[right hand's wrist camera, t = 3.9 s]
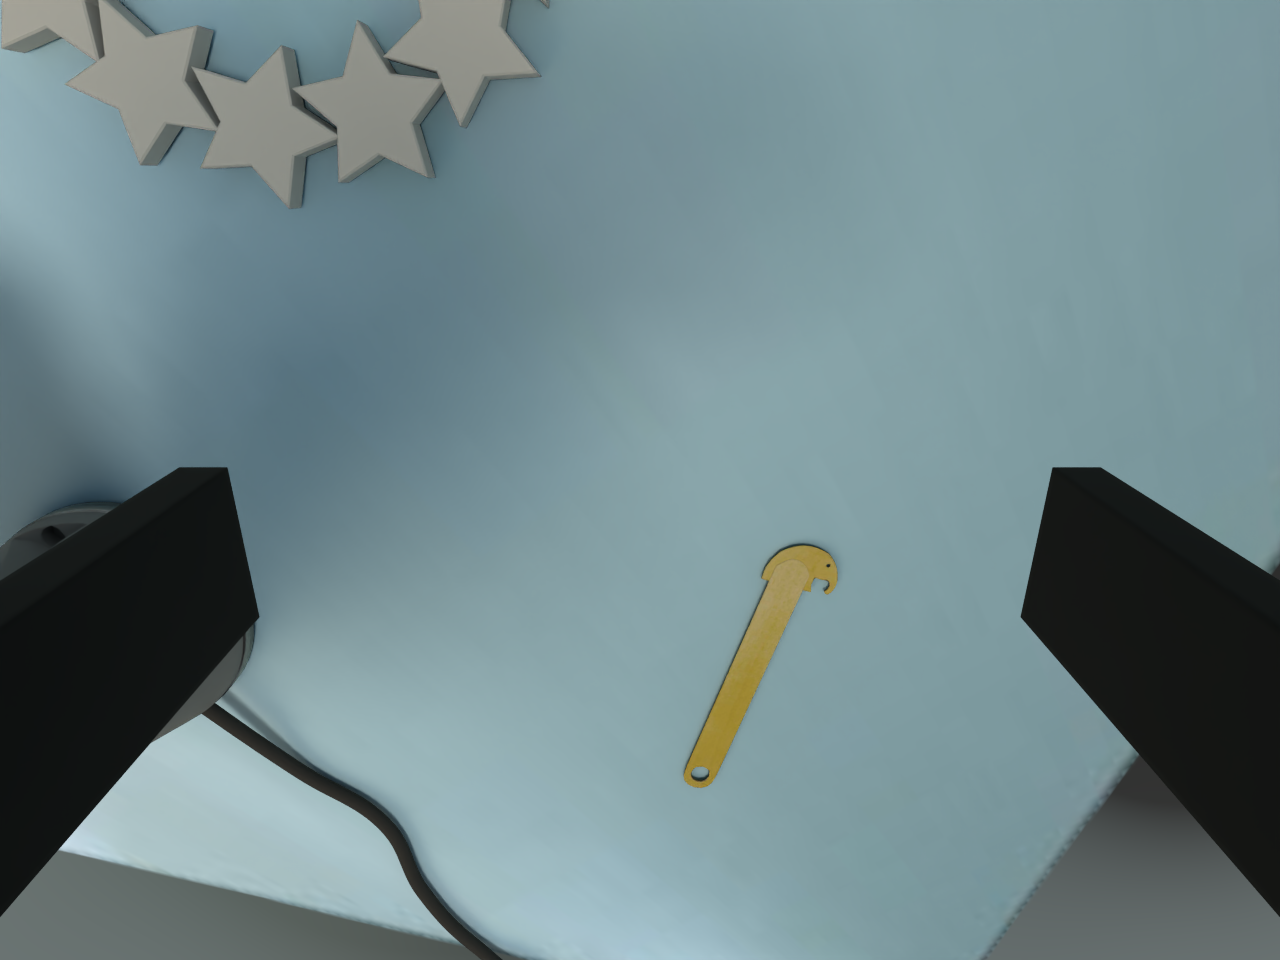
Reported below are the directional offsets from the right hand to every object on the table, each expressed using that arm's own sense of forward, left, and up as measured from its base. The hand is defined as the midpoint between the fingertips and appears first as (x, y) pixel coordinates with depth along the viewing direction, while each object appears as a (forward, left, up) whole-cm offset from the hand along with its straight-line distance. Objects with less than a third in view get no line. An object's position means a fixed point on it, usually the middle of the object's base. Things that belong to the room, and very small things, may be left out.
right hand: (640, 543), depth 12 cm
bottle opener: (-20, +17, -31) cm, 40 cm away
